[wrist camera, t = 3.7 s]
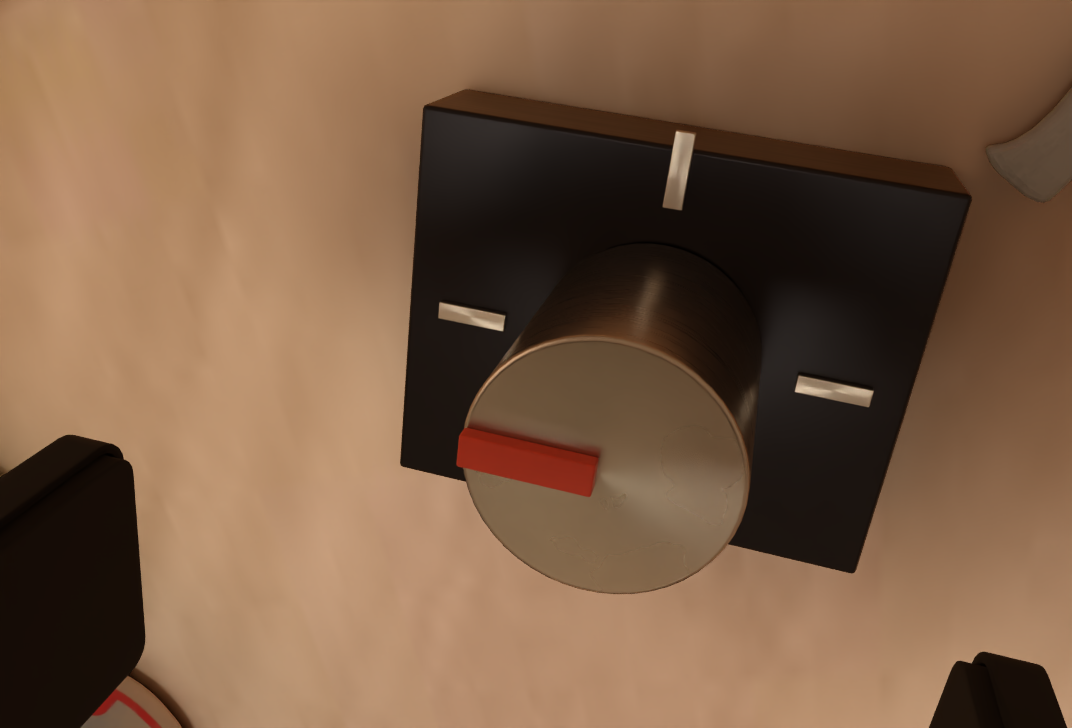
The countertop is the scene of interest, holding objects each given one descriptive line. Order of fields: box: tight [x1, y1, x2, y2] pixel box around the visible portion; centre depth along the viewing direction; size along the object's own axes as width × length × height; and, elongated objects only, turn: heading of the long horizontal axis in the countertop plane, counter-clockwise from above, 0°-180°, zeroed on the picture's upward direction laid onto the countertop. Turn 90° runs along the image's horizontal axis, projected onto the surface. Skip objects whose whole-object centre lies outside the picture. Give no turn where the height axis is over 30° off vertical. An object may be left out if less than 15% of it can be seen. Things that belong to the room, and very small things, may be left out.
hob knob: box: [457, 244, 762, 594], centre depth 16 cm, size 4×4×5 cm
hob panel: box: [400, 90, 972, 573], centre depth 20 cm, size 10×9×3 cm
